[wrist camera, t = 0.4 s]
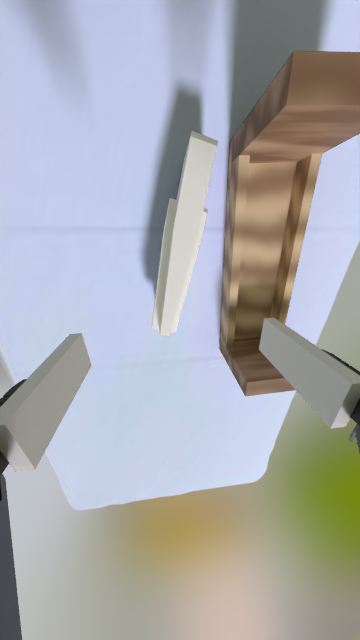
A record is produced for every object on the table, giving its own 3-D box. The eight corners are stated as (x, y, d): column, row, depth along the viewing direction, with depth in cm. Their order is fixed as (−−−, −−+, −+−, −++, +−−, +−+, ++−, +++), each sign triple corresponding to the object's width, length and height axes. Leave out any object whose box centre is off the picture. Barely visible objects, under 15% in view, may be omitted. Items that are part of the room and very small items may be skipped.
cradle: (229, 141, 26) (294, 50, 14) (305, 140, 27) (430, 53, 15) (219, 349, 42) (245, 396, 29) (267, 343, 43) (313, 387, 30)
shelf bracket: (148, 315, 37) (145, 333, 25) (171, 182, 32) (183, 123, 20) (173, 320, 38) (183, 339, 26) (200, 191, 33) (227, 140, 21)
